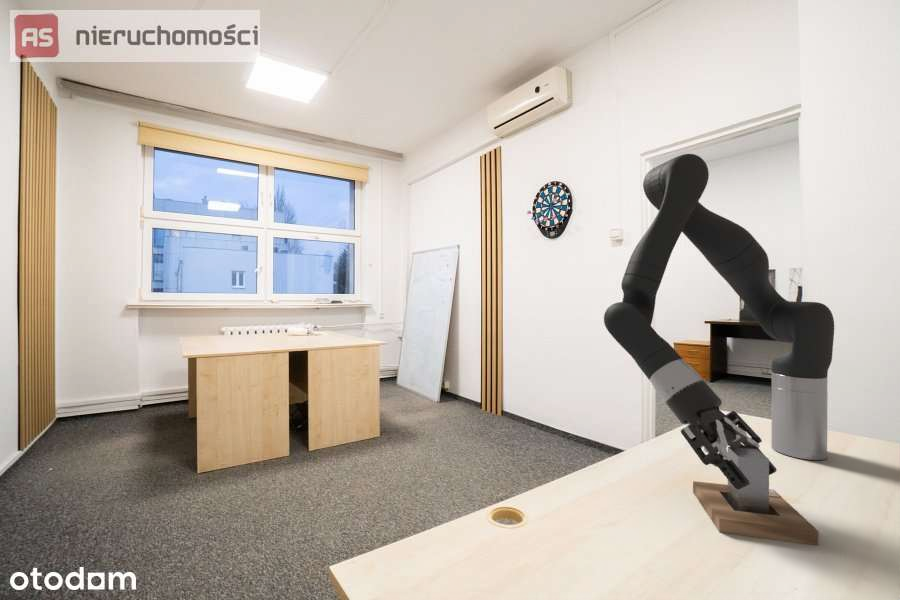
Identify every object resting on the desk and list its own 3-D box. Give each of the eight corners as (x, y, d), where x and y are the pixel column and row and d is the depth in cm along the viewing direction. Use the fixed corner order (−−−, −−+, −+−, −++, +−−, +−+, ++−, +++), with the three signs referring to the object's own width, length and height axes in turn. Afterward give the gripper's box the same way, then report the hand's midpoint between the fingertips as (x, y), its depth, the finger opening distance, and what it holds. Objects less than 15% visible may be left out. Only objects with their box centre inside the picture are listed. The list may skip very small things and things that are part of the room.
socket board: (693, 492, 70) (693, 480, 70) (773, 501, 66) (773, 489, 66) (719, 531, 58) (719, 517, 58) (818, 545, 55) (818, 530, 55)
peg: (727, 507, 65) (727, 446, 65) (756, 510, 64) (756, 449, 63) (738, 520, 61) (738, 456, 61) (768, 524, 60) (769, 459, 60)
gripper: (674, 383, 65) (755, 481, 55) (720, 374, 72) (800, 459, 62) (645, 407, 70) (714, 501, 60) (691, 397, 77) (760, 479, 67)
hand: (758, 480), depth 61 cm, fingers open, 8 cm apart
